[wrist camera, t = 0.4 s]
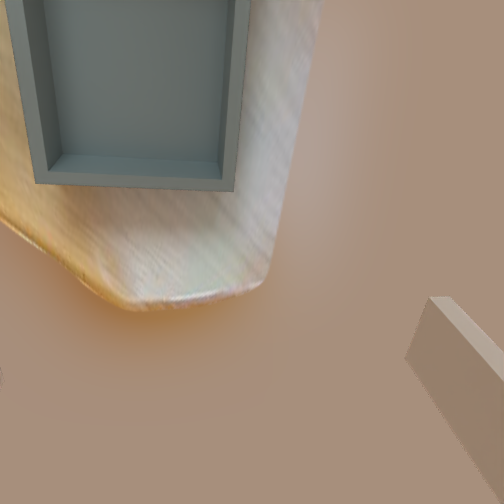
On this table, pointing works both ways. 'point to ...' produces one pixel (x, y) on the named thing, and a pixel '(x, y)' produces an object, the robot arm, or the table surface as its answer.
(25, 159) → the table surface
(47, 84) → the bin
